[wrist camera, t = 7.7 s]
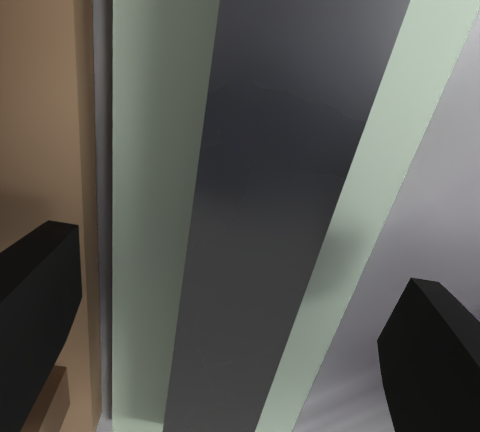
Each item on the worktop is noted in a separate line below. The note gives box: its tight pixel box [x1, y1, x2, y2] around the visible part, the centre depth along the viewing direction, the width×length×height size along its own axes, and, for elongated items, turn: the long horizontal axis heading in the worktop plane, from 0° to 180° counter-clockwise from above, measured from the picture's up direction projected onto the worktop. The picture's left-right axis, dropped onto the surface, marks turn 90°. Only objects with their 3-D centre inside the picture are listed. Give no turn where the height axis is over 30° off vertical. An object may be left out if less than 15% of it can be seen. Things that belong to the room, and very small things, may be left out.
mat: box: [112, 0, 480, 432], centre depth 11 cm, size 6×20×1 cm, turn 170°
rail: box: [163, 0, 410, 432], centre depth 10 cm, size 2×18×2 cm, turn 170°
